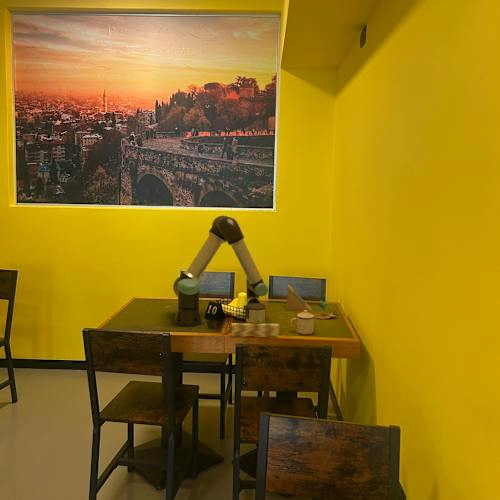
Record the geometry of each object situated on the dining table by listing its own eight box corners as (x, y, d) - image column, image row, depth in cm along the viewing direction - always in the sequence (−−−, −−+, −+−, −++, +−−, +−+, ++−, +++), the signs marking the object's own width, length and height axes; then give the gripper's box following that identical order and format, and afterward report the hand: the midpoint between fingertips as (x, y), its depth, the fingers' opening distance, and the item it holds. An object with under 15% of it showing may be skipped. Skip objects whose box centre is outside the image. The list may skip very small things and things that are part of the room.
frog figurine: (339, 321, 269) (338, 296, 267) (308, 322, 273) (306, 297, 271) (340, 316, 278) (338, 292, 276) (310, 317, 282) (308, 293, 281)
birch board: (231, 336, 237) (231, 324, 236) (231, 334, 240) (231, 323, 239) (278, 337, 238) (279, 325, 237) (278, 335, 241) (278, 323, 240)
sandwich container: (311, 311, 289) (312, 287, 287) (286, 310, 290) (287, 286, 288) (311, 308, 297) (312, 284, 295) (287, 306, 299) (288, 283, 297)
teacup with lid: (313, 330, 251) (314, 308, 249) (313, 335, 242) (314, 313, 240) (290, 328, 252) (291, 307, 251) (290, 333, 243) (291, 312, 242)
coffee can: (241, 331, 245) (241, 305, 243) (254, 327, 253) (255, 301, 250) (256, 336, 238) (256, 309, 236) (269, 331, 246) (269, 305, 244)
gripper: (264, 310, 274) (268, 322, 250) (242, 310, 273) (244, 322, 250) (265, 297, 273) (269, 308, 249) (242, 298, 272) (244, 309, 249)
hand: (256, 315), depth 249 cm, fingers closed
